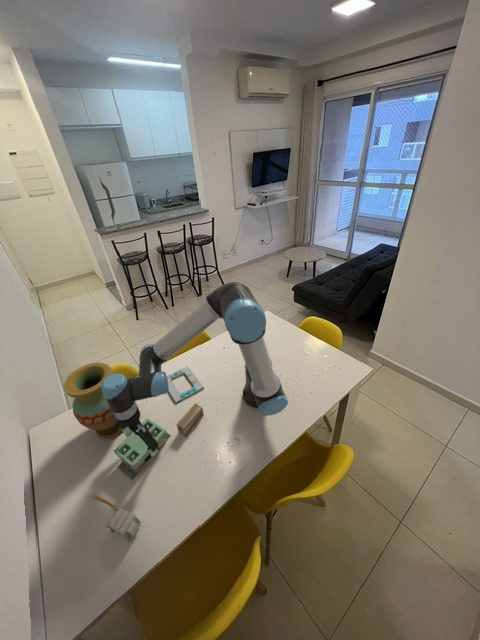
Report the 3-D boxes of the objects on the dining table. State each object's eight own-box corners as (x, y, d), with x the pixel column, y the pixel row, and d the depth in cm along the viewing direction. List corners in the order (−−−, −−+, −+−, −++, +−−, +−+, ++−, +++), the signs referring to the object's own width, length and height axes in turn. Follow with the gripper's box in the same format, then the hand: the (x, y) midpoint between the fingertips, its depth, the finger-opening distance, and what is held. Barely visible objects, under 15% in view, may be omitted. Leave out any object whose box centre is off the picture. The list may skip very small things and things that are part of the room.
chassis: (171, 436, 108) (167, 425, 104) (132, 480, 94) (126, 470, 90) (156, 426, 112) (152, 415, 108) (117, 467, 99) (110, 456, 94)
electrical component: (82, 515, 89) (74, 508, 86) (96, 497, 93) (89, 490, 91) (132, 543, 78) (124, 536, 76) (144, 521, 83) (138, 514, 80)
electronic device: (161, 378, 133) (187, 365, 140) (162, 381, 135) (188, 368, 142) (175, 401, 121) (203, 386, 128) (176, 404, 122) (204, 389, 129)
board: (167, 434, 103) (165, 430, 102) (135, 470, 92) (133, 466, 91) (148, 421, 108) (146, 418, 107) (115, 454, 97) (113, 450, 96)
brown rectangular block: (203, 415, 116) (202, 407, 112) (185, 437, 108) (183, 428, 104) (197, 411, 118) (195, 403, 114) (178, 432, 110) (176, 424, 106)
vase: (145, 411, 119) (126, 364, 102) (115, 452, 104) (87, 405, 86) (111, 401, 125) (88, 355, 107) (78, 438, 109) (44, 391, 92)
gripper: (160, 419, 85) (172, 452, 98) (113, 389, 97) (129, 423, 109) (142, 437, 80) (157, 470, 92) (95, 404, 92) (114, 437, 104)
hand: (142, 445), depth 101 cm, fingers open, 13 cm apart
